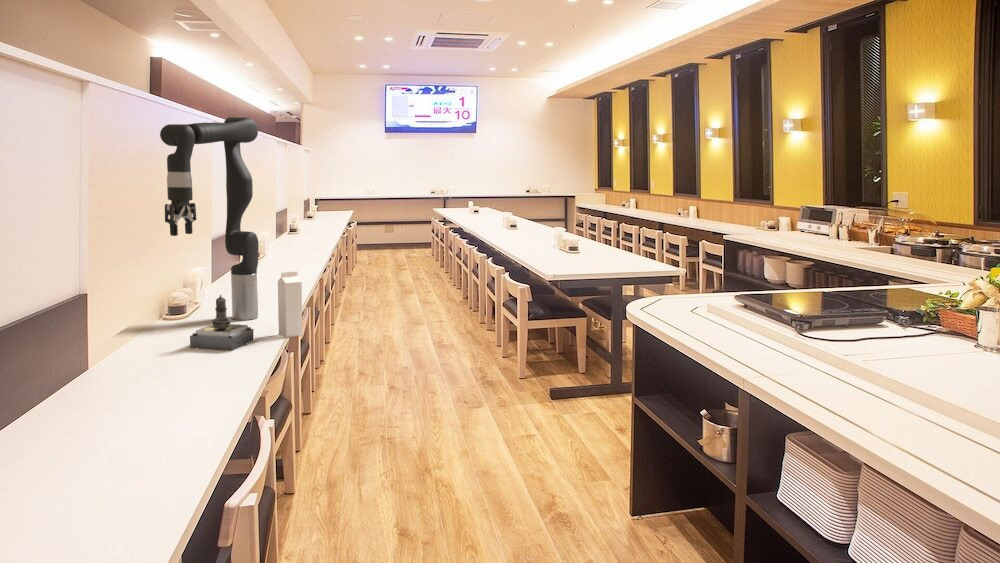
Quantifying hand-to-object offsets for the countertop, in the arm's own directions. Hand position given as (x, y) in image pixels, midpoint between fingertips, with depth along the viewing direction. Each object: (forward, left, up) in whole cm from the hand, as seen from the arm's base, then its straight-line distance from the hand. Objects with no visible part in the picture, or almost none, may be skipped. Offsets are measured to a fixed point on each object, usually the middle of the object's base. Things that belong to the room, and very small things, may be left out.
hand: (181, 234), depth 229 cm
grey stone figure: (+10, +19, -30) cm, 37 cm away
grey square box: (+10, +19, -34) cm, 40 cm away
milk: (-8, +34, -34) cm, 49 cm away
